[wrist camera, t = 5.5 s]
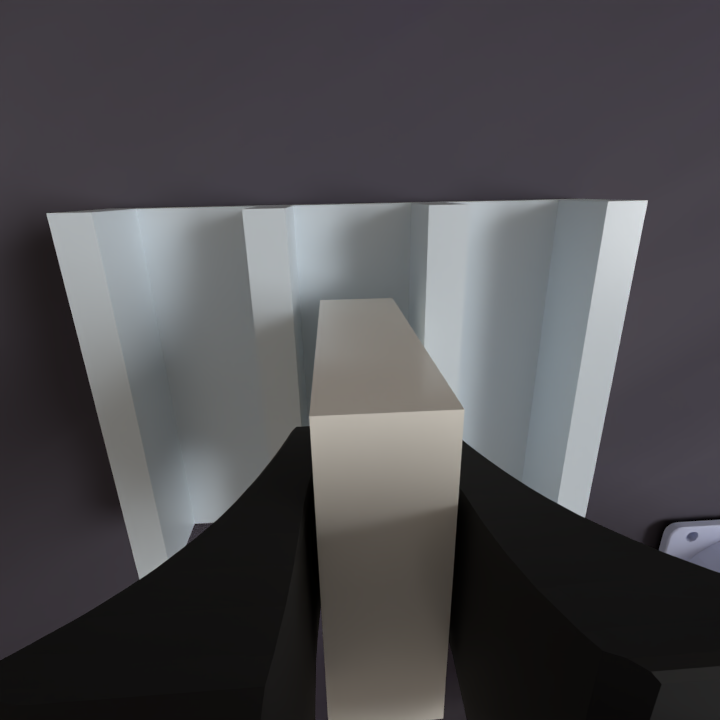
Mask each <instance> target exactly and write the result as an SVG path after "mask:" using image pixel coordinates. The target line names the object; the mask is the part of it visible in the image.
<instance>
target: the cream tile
mask: <svg viewBox="0 0 720 720" xmlns="http://www.w3.org/2000/svg"><path fill="white" fill-rule="evenodd" d="M464 411H465V409H464V408H463V406H462V405H461V403H460V402H459V400H458V398H457V397H456V395H455V394H454V392H453V391H452V389H451V388H450V386H449V385H448V383H447V381H446V380H445V378H444V377H443V375H442V374H441V372H440V371H439V369H438V368H437V366H436V364H435V363H434V361H433V360H432V358H431V357H430V355H429V354H428V352H427V351H426V349H425V347H424V346H423V344H422V343H421V341H420V340H419V338H418V337H417V335H416V334H415V332H414V330H413V329H412V327H411V326H410V324H409V323H408V321H407V320H406V318H405V317H404V315H403V313H402V312H401V310H400V309H399V307H398V306H397V304H396V303H395V301H394V300H393V298H373V299H340V300H320V307H319V318H318V328H317V339H316V349H315V360H314V371H313V381H312V392H311V403H310V413H309V421H310V437H311V453H312V469H313V485H314V501H315V517H316V533H317V549H318V565H319V581H320V597H321V613H322V629H323V645H324V661H325V677H326V693H327V708H328V720H433V719H443V713H444V699H445V684H446V670H447V656H448V641H449V627H450V612H451V598H452V584H453V569H454V555H455V540H456V526H457V511H458V497H459V483H460V468H461V454H462V439H463V425H464Z"/></svg>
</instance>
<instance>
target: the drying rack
mask: <svg viewBox="0 0 720 720" xmlns="http://www.w3.org/2000/svg"><path fill="white" fill-rule="evenodd" d="M647 202H648V200H604V199H543V200H495V201H447V202H400V203H352V204H305V205H257V206H210V207H162V208H115V209H99V210H87V211H73V212H58V213H46V214H47V218H48V222H49V226H50V230H51V234H52V238H53V242H54V246H55V250H56V254H57V257H58V261H59V265H60V269H61V273H62V277H63V281H64V285H65V289H66V293H67V297H68V301H69V305H70V309H71V312H72V316H73V320H74V324H75V328H76V332H77V336H78V340H79V344H80V348H81V352H82V356H83V360H84V363H85V367H86V371H87V375H88V379H89V383H90V387H91V391H92V395H93V399H94V403H95V407H96V411H97V415H98V418H99V422H100V426H101V430H102V434H103V438H104V442H105V446H106V450H107V454H108V458H109V462H110V466H111V470H112V473H113V477H114V481H115V485H116V489H117V493H118V497H119V501H120V505H121V509H122V513H123V517H124V521H125V524H126V528H127V532H128V536H129V540H130V544H131V548H132V552H133V556H134V560H135V564H136V568H137V572H138V576H139V579H141V578H143V577H144V576H146V575H147V574H149V573H150V572H152V571H153V570H154V569H156V568H157V567H159V566H160V565H161V564H162V563H164V562H165V561H166V560H168V559H169V558H170V557H172V556H173V555H174V554H176V553H177V552H178V551H180V550H181V549H182V548H184V547H185V546H186V544H187V541H188V539H189V537H190V534H191V532H192V529H193V527H194V524H198V523H214V522H215V521H216V520H217V519H218V518H219V517H221V516H222V515H223V514H224V513H225V512H226V511H227V510H228V509H229V508H230V507H231V506H232V505H233V504H234V503H235V502H236V501H237V499H238V498H239V497H240V496H241V495H242V494H243V493H244V492H245V491H246V490H247V489H248V487H249V486H250V485H251V484H252V483H253V482H254V481H255V480H256V478H257V477H258V476H259V475H260V474H261V472H262V471H263V470H264V469H265V467H266V466H267V465H268V464H269V462H270V461H271V460H272V459H273V457H274V456H275V455H276V453H277V452H278V450H279V449H280V448H281V446H282V445H283V443H284V442H285V441H286V439H287V438H288V436H289V435H290V433H291V431H292V430H293V429H294V428H295V427H302V426H310V421H309V413H310V403H311V392H312V381H313V371H314V360H315V349H316V339H317V328H318V318H319V307H320V300H340V299H373V298H393V300H394V301H395V303H396V304H397V306H398V307H399V309H400V310H401V312H402V313H403V315H404V317H405V318H406V320H407V321H408V323H409V324H410V326H411V327H412V329H413V330H414V332H415V334H416V335H417V337H418V338H419V340H420V341H421V343H422V344H423V346H424V347H425V349H426V351H427V352H428V354H429V355H430V357H431V358H432V360H433V361H434V363H435V364H436V366H437V368H438V369H439V371H440V372H441V374H442V375H443V377H444V378H445V380H446V381H447V383H448V385H449V386H450V388H451V389H452V391H453V392H454V394H455V395H456V397H457V398H458V400H459V402H460V403H461V405H462V406H463V408H464V409H465V411H464V425H463V439H462V440H463V441H464V442H466V443H467V444H468V445H469V446H471V447H472V448H473V449H475V450H476V451H477V452H479V453H480V454H481V455H483V456H484V457H485V458H487V459H488V460H489V461H491V462H492V463H494V464H495V465H496V466H498V467H499V468H501V469H502V470H504V471H505V472H507V473H508V474H510V475H511V476H513V477H514V478H516V479H517V480H519V481H520V482H522V483H523V484H525V485H527V486H528V487H530V488H531V489H533V490H535V491H536V492H538V493H540V494H541V495H543V496H545V497H547V498H548V499H550V500H552V501H554V502H556V503H558V504H560V505H561V506H563V507H565V508H567V509H569V510H571V511H572V512H574V513H576V514H578V515H580V516H582V517H584V518H585V515H586V510H587V505H588V500H589V495H590V490H591V485H592V480H593V475H594V470H595V465H596V460H597V455H598V450H599V445H600V439H601V434H602V429H603V424H604V419H605V414H606V409H607V404H608V399H609V394H610V389H611V384H612V379H613V374H614V369H615V364H616V359H617V354H618V349H619V344H620V338H621V333H622V328H623V323H624V318H625V313H626V308H627V303H628V298H629V293H630V288H631V283H632V278H633V273H634V268H635V263H636V258H637V253H638V248H639V243H640V237H641V232H642V227H643V222H644V217H645V212H646V207H647Z"/></svg>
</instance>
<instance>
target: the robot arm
mask: <svg viewBox="0 0 720 720" xmlns="http://www.w3.org/2000/svg"><path fill="white" fill-rule="evenodd" d="M320 608H321V597H320V581H319V565H318V549H317V533H316V517H315V501H314V485H313V469H312V453H311V437H310V426H302V427H295V428H294V429H293V430H292V431H291V433H290V435H289V436H288V438H287V439H286V441H285V442H284V443H283V445H282V446H281V448H280V449H279V450H278V452H277V453H276V455H275V456H274V457H273V459H272V460H271V461H270V462H269V464H268V465H267V466H266V467H265V469H264V470H263V471H262V472H261V474H260V475H259V476H258V477H257V478H256V480H255V481H254V482H253V483H252V484H251V485H250V486H249V487H248V489H247V490H246V491H245V492H244V493H243V494H242V495H241V496H240V497H239V498H238V499H237V501H236V502H235V503H234V504H233V505H232V506H231V507H230V508H229V509H228V510H227V511H226V512H225V513H224V514H223V515H222V516H221V517H219V518H218V519H217V520H216V521H215V522H214V523H213V524H212V525H211V526H210V527H208V528H207V529H206V530H205V531H204V532H203V533H201V534H200V535H199V536H198V537H197V538H195V539H194V540H193V541H191V542H190V543H189V544H187V545H186V546H185V547H184V548H182V549H181V550H180V551H178V552H177V553H176V554H174V555H173V556H172V557H170V558H169V559H168V560H166V561H165V562H164V563H162V564H161V565H160V566H159V567H157V568H156V569H154V570H153V571H152V572H150V573H149V574H147V575H146V576H144V577H143V578H141V579H140V580H138V581H137V582H135V583H134V584H132V585H131V586H129V587H128V588H126V589H125V590H123V591H121V592H120V593H118V594H117V595H115V596H113V597H112V598H110V599H109V600H107V601H106V602H104V603H102V604H101V605H99V606H98V607H96V608H94V609H93V610H91V611H89V612H87V613H86V614H84V615H82V616H81V617H79V618H77V619H76V620H74V621H72V622H70V623H68V624H66V625H65V626H63V627H61V628H59V629H57V630H56V631H54V632H52V633H50V634H48V635H46V636H45V637H43V638H41V639H39V640H37V641H36V642H34V643H32V644H30V645H28V646H26V647H25V648H23V649H21V650H19V651H17V652H16V653H14V654H12V655H10V656H8V657H6V658H4V659H2V660H0V720H315V688H316V653H317V638H318V628H319V618H320ZM449 643H450V646H451V650H452V654H453V658H454V663H455V667H456V672H457V677H458V681H459V686H460V690H461V695H462V699H463V704H464V708H465V713H466V718H467V720H720V520H706V521H689V522H676V523H672V524H670V525H668V526H667V527H666V528H665V530H664V533H663V536H662V540H661V543H660V547H659V550H657V549H654V548H652V547H649V546H647V545H644V544H642V543H639V542H637V541H634V540H632V539H630V538H628V537H625V536H623V535H621V534H619V533H617V532H614V531H612V530H610V529H608V528H605V527H603V526H601V525H599V524H597V523H594V522H592V521H590V520H588V519H586V518H584V517H582V516H580V515H578V514H576V513H574V512H572V511H571V510H569V509H567V508H565V507H563V506H561V505H560V504H558V503H556V502H554V501H552V500H550V499H548V498H547V497H545V496H543V495H541V494H540V493H538V492H536V491H535V490H533V489H531V488H530V487H528V486H527V485H525V484H523V483H522V482H520V481H519V480H517V479H516V478H514V477H513V476H511V475H510V474H508V473H507V472H505V471H504V470H502V469H501V468H499V467H498V466H496V465H495V464H494V463H492V462H491V461H489V460H488V459H487V458H485V457H484V456H483V455H481V454H480V453H479V452H477V451H476V450H475V449H473V448H472V447H471V446H469V445H468V444H467V443H466V442H464V441H463V440H462V454H461V468H460V483H459V497H458V511H457V526H456V540H455V555H454V569H453V584H452V598H451V612H450V627H449Z"/></svg>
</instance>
